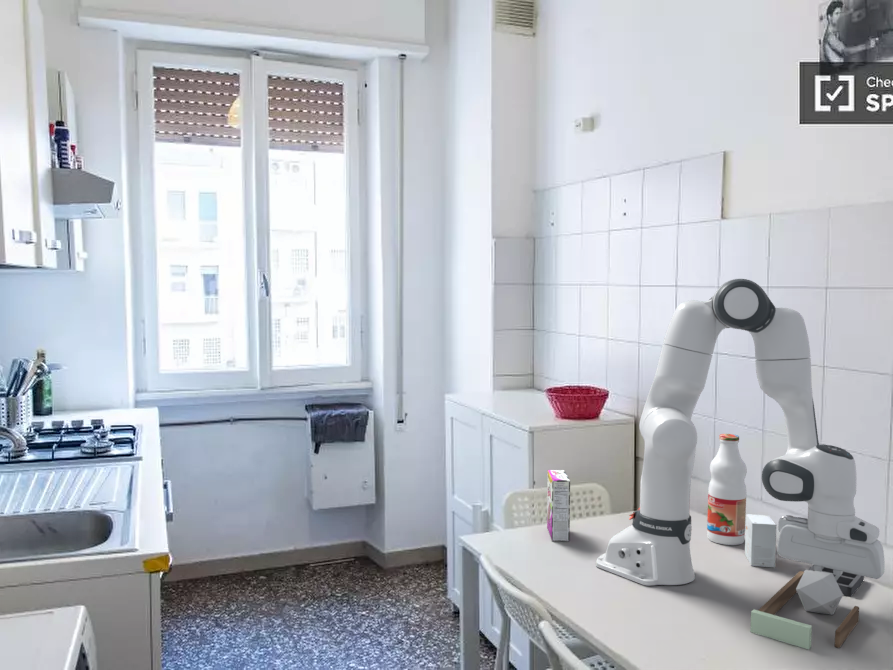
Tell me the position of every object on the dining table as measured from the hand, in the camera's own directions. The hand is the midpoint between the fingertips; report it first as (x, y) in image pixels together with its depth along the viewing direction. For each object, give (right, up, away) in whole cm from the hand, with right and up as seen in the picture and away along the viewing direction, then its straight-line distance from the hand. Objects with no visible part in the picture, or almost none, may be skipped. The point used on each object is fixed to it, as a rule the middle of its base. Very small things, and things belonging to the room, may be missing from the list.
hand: (827, 587), depth 158 cm
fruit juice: (-7, -1, +40) cm, 40 cm away
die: (-4, -4, -3) cm, 6 cm away
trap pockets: (+7, -3, +11) cm, 13 cm away
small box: (-4, -2, +24) cm, 25 cm away
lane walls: (-6, -4, -6) cm, 9 cm away
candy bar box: (-51, 0, +42) cm, 66 cm away
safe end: (-18, -4, -17) cm, 25 cm away
